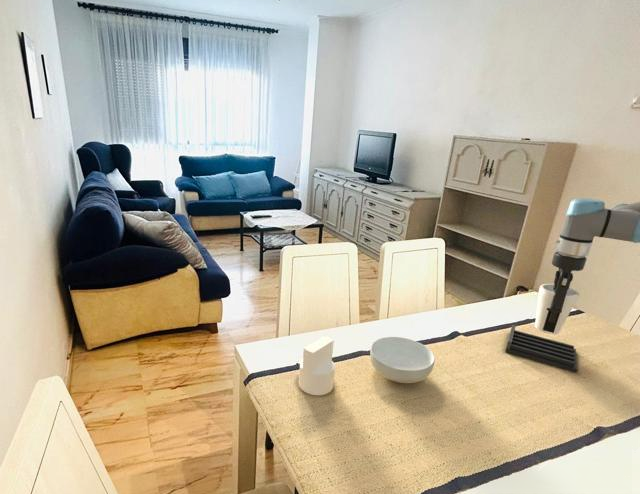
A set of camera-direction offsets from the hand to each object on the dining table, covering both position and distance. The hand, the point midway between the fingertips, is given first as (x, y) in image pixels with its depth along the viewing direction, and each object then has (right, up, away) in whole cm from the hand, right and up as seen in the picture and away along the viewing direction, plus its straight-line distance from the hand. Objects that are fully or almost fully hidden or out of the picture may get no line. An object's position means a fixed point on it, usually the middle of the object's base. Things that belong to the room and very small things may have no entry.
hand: (548, 324), depth 116 cm
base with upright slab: (-72, -14, -16) cm, 75 cm away
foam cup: (0, -2, +1) cm, 2 cm away
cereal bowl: (-49, -12, -10) cm, 51 cm away
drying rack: (0, -9, +3) cm, 10 cm away
